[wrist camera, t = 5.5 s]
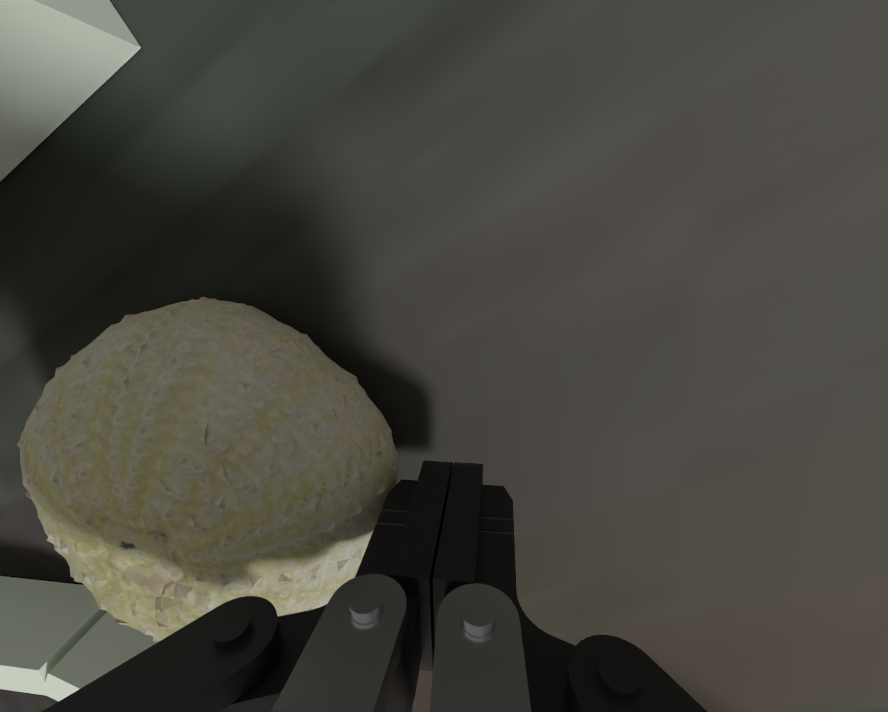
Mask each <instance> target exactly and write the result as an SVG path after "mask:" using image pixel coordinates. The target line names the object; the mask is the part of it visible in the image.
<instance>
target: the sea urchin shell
mask: <svg viewBox="0 0 888 712" xmlns="http://www.w3.org/2000/svg"><path fill="white" fill-rule="evenodd" d="M17 446H18V447H19V449H20V450H21V452H20V464H21V469H22V475H23V485H24V486H25V487H26V489H27V493H26V495H25V496H27V497H29V498H31V499H32V501H33V502H34V504H35V506H36V508H37V512H38V518H39V519H40V521H41V523H42V525H43V527H44V530H45V533H46V534H47V536H48V539H47V541H48V542H51V543H53V544H54V549H55V550H56V551H57V552H58V553H59V554H61V555H62V556H63V557H64V558H65V559H66V560H67V563H68V565H69V567H70V577H72V578H74V581H75V582H81V583H83V584H84V585H85V586H86V588H87V589H88V590H89V591H90V592H91V593H92V594H93V596H94V598H95V601H96V603H97V606H98V608H99V609H102V610H106V611H107V612H109V613H110V614H111V615H112V616H113V618H114V619H115V623H116V624H121V625H126V626H129V627H132V628H134V629H137V630H139V631H141V632H142V633H143V634H145V635H151V636H152V639H153V641H161V640H163V639H164V638H166V637H168V636H169V635H171V634H173V633H174V632H176V631H178V630H179V629H181V628H183V627H184V626H186V625H188V624H189V623H191V622H193V621H194V620H196V619H198V618H199V617H201V616H203V615H204V614H206V613H208V612H209V611H211V610H213V609H214V608H216V607H218V606H220V605H221V604H223V603H225V602H227V601H230V600H232V599H236V598H239V597H245V596H257V597H262V598H265V599H267V600H268V601H270V602H271V603H272V604H273V605H274V607H275V609H276V611H277V616H283V615H288V614H293V613H298V612H303V611H308V610H312V609H316V608H319V607H322V606H324V605H326V604H328V602H329V600H330V598H331V597H332V595H333V594H334V593H335V591H336V590H337V589H338V588H339V587H340V586H342V585H343V584H344V583H346V582H347V581H349V580H351V579H353V578H355V576H356V573H357V571H358V568H359V566H360V563H361V561H362V558H363V556H364V553H365V551H366V548H367V546H368V543H369V540H370V538H371V535H372V533H373V530H374V528H375V525H376V524H377V520H378V518H379V515H380V513H381V511H382V508H383V505H384V502H385V500H386V497H387V495H388V492H389V491H390V490H391V489H393V488H394V487H395V486H396V484H397V476H398V465H397V453H396V449H395V446H394V442H393V439H392V431H391V429H390V428H389V426H388V424H387V422H386V420H385V418H384V417H383V415H382V413H381V412H380V411H379V409H378V408H377V407H376V406H375V404H374V403H373V402H372V401H371V400H370V398H369V397H368V396H367V394H366V392H365V390H364V389H363V388H362V387H361V386H360V385H359V384H358V380H357V377H356V376H354V375H352V374H351V373H349V372H347V371H346V370H344V369H343V368H341V367H339V366H338V365H337V364H336V363H335V362H333V361H332V360H331V359H329V358H328V357H327V356H326V355H325V354H324V353H323V352H322V351H321V349H320V348H319V347H318V346H316V345H315V344H314V343H313V342H312V340H311V339H310V338H309V337H308V335H307V334H302V333H300V332H298V331H297V330H295V329H294V328H292V327H291V326H288V325H285V324H283V323H281V322H279V321H277V320H276V319H274V318H273V317H271V316H270V315H268V314H266V313H265V312H263V311H261V310H259V309H257V308H255V307H253V306H247V305H245V304H244V303H235V302H231V301H219V300H217V299H215V298H213V299H209V298H205V297H201V298H200V299H198V300H194V299H191V300H189V301H184V302H178V303H174V304H171V305H168V306H165V307H162V308H159V309H156V310H152V311H147V312H146V311H143V312H142V313H139V314H136V315H125V316H124V317H123V319H122V320H121V322H119V323H117V324H112V325H111V326H109V327H108V328H107V329H106V330H105V331H104V332H103V333H101V334H100V335H99V336H98V337H97V338H96V339H95V340H93V341H92V342H91V343H90V344H89V345H88V346H87V347H85V348H84V349H82V350H81V351H79V352H78V353H77V354H76V355H71V359H70V360H69V361H68V362H67V363H66V364H65V365H64V366H61V367H58V368H56V372H55V377H54V378H52V379H51V380H50V381H49V382H48V383H47V384H46V385H45V387H44V390H43V394H42V396H41V398H40V400H39V401H38V403H37V405H36V406H35V408H34V410H33V411H32V413H31V415H30V416H29V418H28V420H27V422H26V427H25V429H24V430H23V432H22V433H21V440H20V441H19V442H18V443H17Z"/></svg>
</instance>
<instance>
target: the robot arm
mask: <svg viewBox="0 0 888 712" xmlns="http://www.w3.org/2000/svg"><path fill="white" fill-rule="evenodd" d="M419 670H428V671H433V678H432V691H431V705H430V712H707V711H706V710H705V709H704V708H703V707H702V706H701V705H699V704H698V703H697V702H696V701H695V700H694V699H693V698H692V697H691V696H690V695H689V694H688V693H687V692H686V691H685V690H684V689H683V688H682V687H680V686H679V685H678V684H677V683H676V682H675V681H674V680H673V679H672V678H671V677H670V676H669V675H668V674H667V673H666V672H665V671H664V670H663V669H662V668H660V667H659V666H658V665H657V664H656V663H655V662H654V661H653V660H652V659H651V658H650V657H649V656H648V655H647V654H645V653H644V652H643V651H642V650H641V649H639V648H638V647H636V646H635V645H633V644H631V643H630V642H628V641H626V640H623V639H620V638H618V637H614V636H609V635H595V636H591V637H588V638H585V639H584V640H582V641H580V642H579V643H578V644H577V645H576V646H574V645H572V644H570V643H567V642H565V641H563V640H560V639H558V638H556V637H553V636H551V635H549V634H547V633H545V632H544V631H542V630H541V629H539V628H538V627H537V626H536V625H534V624H533V623H532V622H531V621H530V620H529V618H528V617H527V616H526V615H525V613H524V612H523V610H522V608H521V606H520V604H519V602H518V598H517V592H516V571H515V545H514V521H513V500H512V499H511V497H510V496H509V494H508V492H507V491H506V489H505V488H504V486H492V485H483V464H473V463H456V462H455V463H454V466H453V462H438V461H424V462H423V464H422V468H421V471H420V474H419V478H418V481H414V480H401V481H400V482H399V483H398V484H397V485H396V486H395V487H394V488H393V489H391V490H390V491H389V492H388V495H387V497H386V500H385V502H384V505H383V508H382V511H381V513H380V515H379V518H378V520H377V524H376V525H375V528H374V530H373V533H372V535H371V538H370V540H369V543H368V546H367V548H366V551H365V553H364V556H363V558H362V561H361V563H360V566H359V568H358V571H357V573H356V576H355V578H353V579H351V580H349V581H347V582H346V583H344V584H343V585H342V586H340V587H339V588H338V589H337V590H336V591H335V593H334V594H333V595H332V597H331V598H330V600H329V602H328V604H326V605H324V606H322V607H319V608H316V609H312V610H308V611H303V612H298V613H293V614H288V615H283V616H277V611H276V609H275V607H274V605H273V604H272V603H271V602H270V601H268V600H267V599H265V598H262V597H257V596H245V597H239V598H236V599H232V600H230V601H227V602H225V603H223V604H221V605H220V606H218V607H216V608H214V609H213V610H211V611H209V612H208V613H206V614H204V615H203V616H201V617H199V618H198V619H196V620H194V621H193V622H191V623H189V624H188V625H186V626H184V627H183V628H181V629H179V630H178V631H176V632H174V633H173V634H171V635H169V636H168V637H166V638H164V639H163V640H161V641H159V642H158V643H156V644H154V645H153V646H151V647H149V648H147V649H146V650H144V651H142V652H141V653H139V654H137V655H136V656H134V657H132V658H131V659H129V660H127V661H126V662H124V663H122V664H121V665H119V666H117V667H116V668H114V669H112V670H111V671H109V672H107V673H106V674H104V675H102V676H101V677H99V678H97V679H96V680H94V681H92V682H91V683H89V684H87V685H86V686H84V687H82V688H81V689H79V690H77V691H76V692H74V693H72V694H71V695H69V696H67V697H66V698H64V699H62V700H61V701H59V702H57V703H56V704H54V705H52V706H50V707H49V708H47V709H45V710H44V711H42V712H413V701H414V697H415V692H416V686H417V680H418V675H419Z"/></svg>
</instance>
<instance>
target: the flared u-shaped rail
mask: <svg viewBox="0 0 888 712" xmlns="http://www.w3.org/2000/svg"><path fill="white" fill-rule="evenodd" d="M140 48H141V47H140V45H139V44H138V42H137V41H136V39H135V38H134V36H133V35H132V33H131V32H130V30H129V29H128V27H127V26H126V24H125V23H124V21H123V20H122V18H121V17H120V15H119V14H118V12H117V11H116V9H115V8H114V6H113V5H112V3H111V2H110V0H0V181H1V180H2V179H4V178H5V177H6V176H7V175H8V174H9V173H10V172H11V171H12V170H13V169H14V168H15V167H16V166H17V165H18V164H19V163H20V162H21V161H23V160H24V159H25V158H26V157H27V156H28V155H29V154H30V153H31V152H32V151H33V150H34V149H35V148H36V147H37V146H38V145H39V144H40V143H41V142H43V141H44V140H45V139H46V138H47V137H48V136H49V135H50V134H51V133H52V132H53V131H54V130H55V129H56V128H57V127H58V126H59V125H60V124H61V123H63V122H64V121H65V120H66V119H67V118H68V117H69V116H70V115H71V114H72V113H73V112H74V111H75V110H76V109H77V108H78V107H79V106H80V105H81V104H83V103H84V102H85V101H86V100H87V99H88V98H89V97H90V96H91V95H92V94H93V93H94V92H95V91H96V90H97V89H98V88H99V87H100V86H102V85H103V84H104V83H105V82H106V81H107V80H108V79H109V78H110V77H111V76H112V75H113V74H114V73H115V72H116V71H117V70H118V69H119V68H120V67H122V66H123V65H124V64H125V63H126V62H127V61H128V60H129V59H130V58H131V57H132V56H133V55H134V54H135V53H136V52H137V51H138V50H139V49H140ZM158 642H159V641H153V639H152V636H151V635H145V634H143V633H142V632H141V631H139V630H137V629H134V628H132V627H129V626H126V625H121V624H116V623H115V619H114V618H113V616H112V615H111V614H110V613H109V612H107V611H106V610H102V609H99V608H98V606H97V603H96V601H95V598H94V596H93V594H92V593H91V592H90V591H89V590H88V589H87V588H86V586H85V585H79V584H70V583H61V582H51V581H42V580H33V579H24V578H15V577H6V576H0V689H5V690H12V691H19V692H26V693H33V694H40V695H46V696H48V697H50V698H53V699H55V700H57V701H61V700H62V699H64V698H66V697H67V696H69V695H71V694H72V693H74V692H76V691H77V690H79V689H81V688H82V687H84V686H86V685H87V684H89V683H91V682H92V681H94V680H96V679H97V678H99V677H101V676H102V675H104V674H106V673H107V672H109V671H111V670H112V669H114V668H116V667H117V666H119V665H121V664H122V663H124V662H126V661H127V660H129V659H131V658H132V657H134V656H136V655H137V654H139V653H141V652H142V651H144V650H146V649H147V648H149V647H151V646H153V645H154V644H156V643H158Z"/></svg>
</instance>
